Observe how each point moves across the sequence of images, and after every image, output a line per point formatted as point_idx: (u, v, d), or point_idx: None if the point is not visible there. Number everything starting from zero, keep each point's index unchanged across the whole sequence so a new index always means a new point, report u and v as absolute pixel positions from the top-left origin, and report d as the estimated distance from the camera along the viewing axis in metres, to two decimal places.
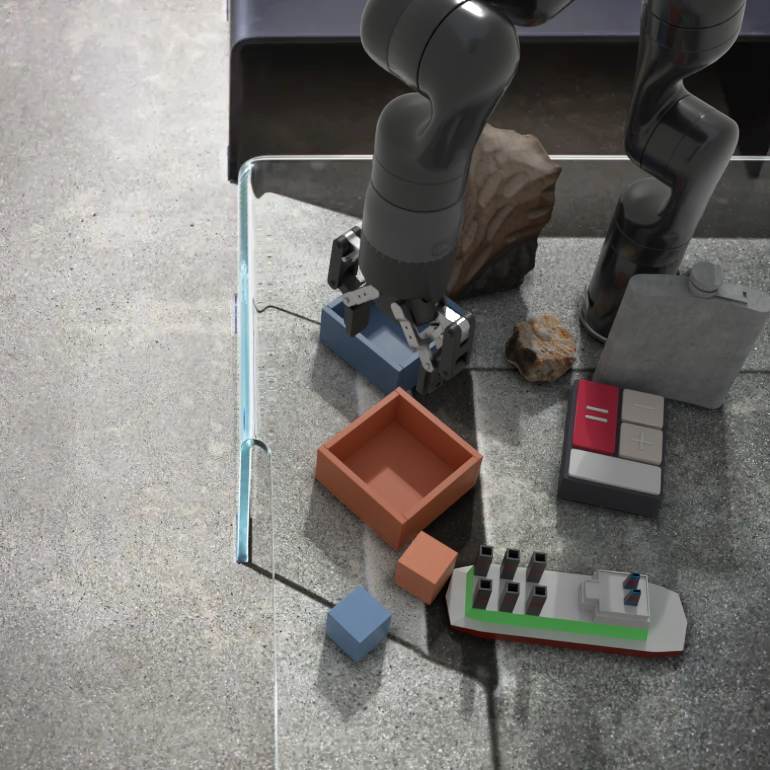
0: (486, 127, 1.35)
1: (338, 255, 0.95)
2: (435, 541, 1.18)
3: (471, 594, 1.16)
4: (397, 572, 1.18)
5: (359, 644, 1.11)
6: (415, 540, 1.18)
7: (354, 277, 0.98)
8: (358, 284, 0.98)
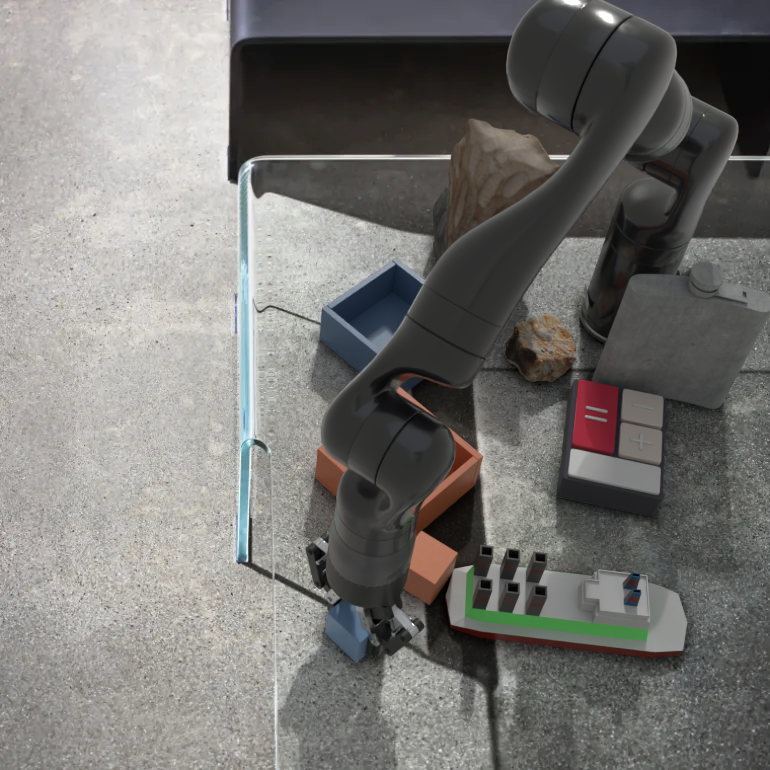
0: (486, 127, 1.35)
1: (312, 559, 1.10)
2: (435, 541, 1.18)
3: (471, 594, 1.16)
4: None
5: (359, 644, 1.11)
6: (415, 540, 1.18)
7: None
8: None
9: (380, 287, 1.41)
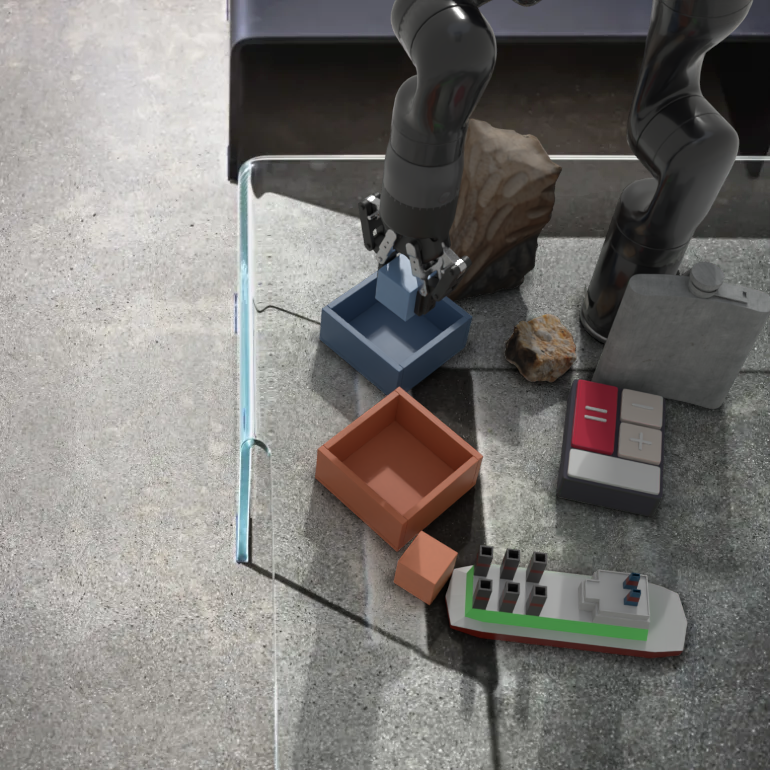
0: (486, 127, 1.35)
1: (364, 216, 1.19)
2: (435, 541, 1.18)
3: (471, 594, 1.16)
4: (397, 572, 1.18)
5: (409, 294, 1.19)
6: (415, 540, 1.18)
7: None
8: None
9: None
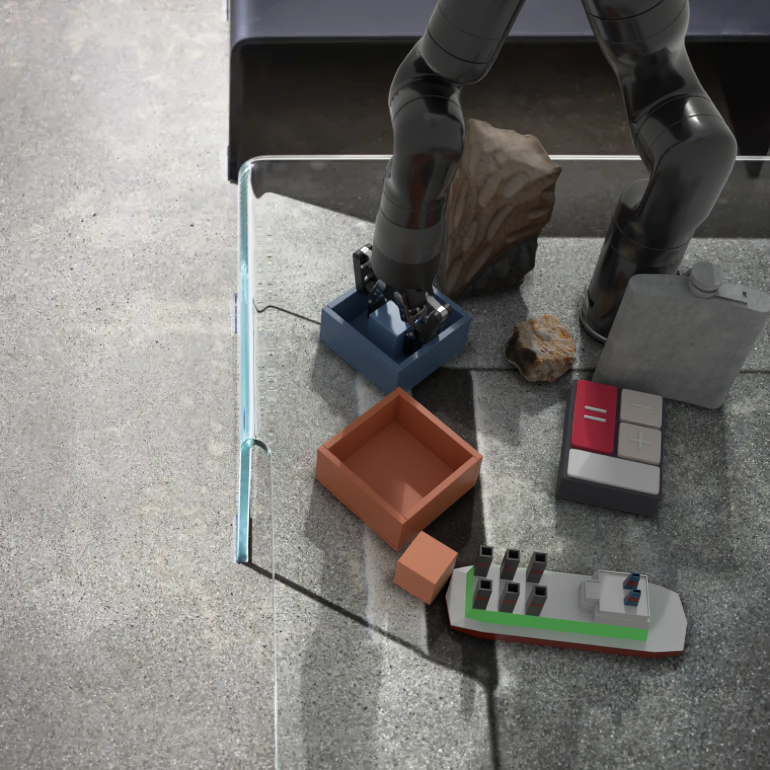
0: (486, 127, 1.35)
1: (357, 264, 1.33)
2: (435, 541, 1.18)
3: (471, 594, 1.16)
4: (397, 572, 1.18)
5: (396, 337, 1.34)
6: (415, 540, 1.18)
7: (375, 285, 1.36)
8: None
9: None
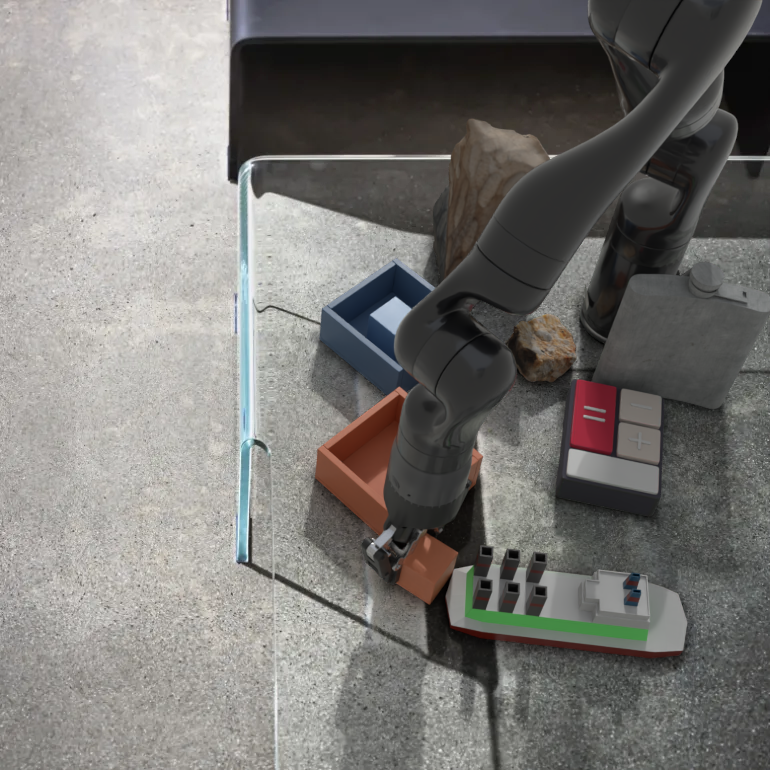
0: (486, 127, 1.35)
1: None
2: (435, 540, 1.18)
3: (471, 594, 1.16)
4: None
5: None
6: None
7: None
8: None
9: (380, 287, 1.41)
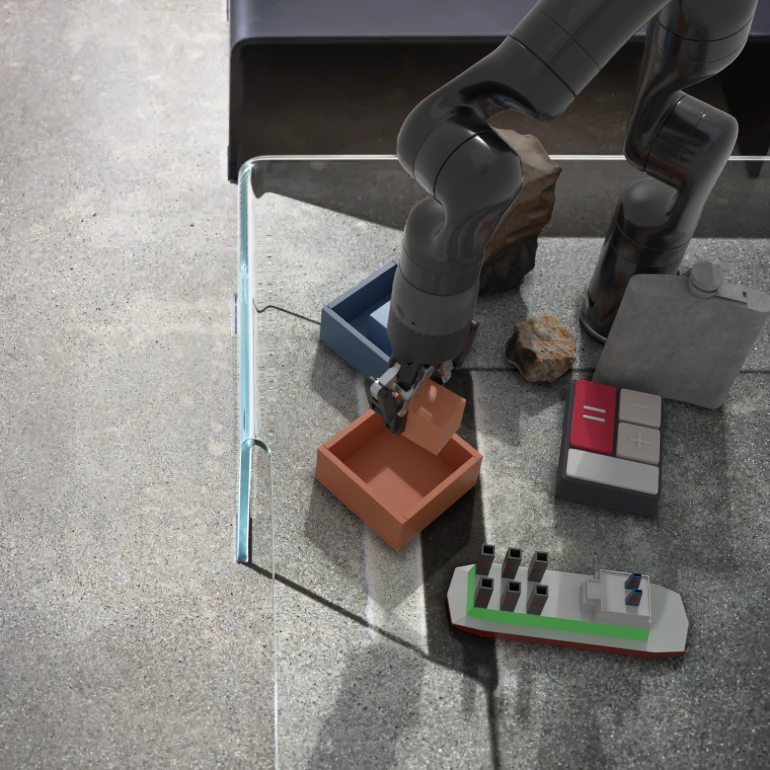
0: None
1: None
2: (442, 388, 1.14)
3: (472, 593, 1.16)
4: None
5: None
6: None
7: None
8: None
9: (380, 287, 1.41)
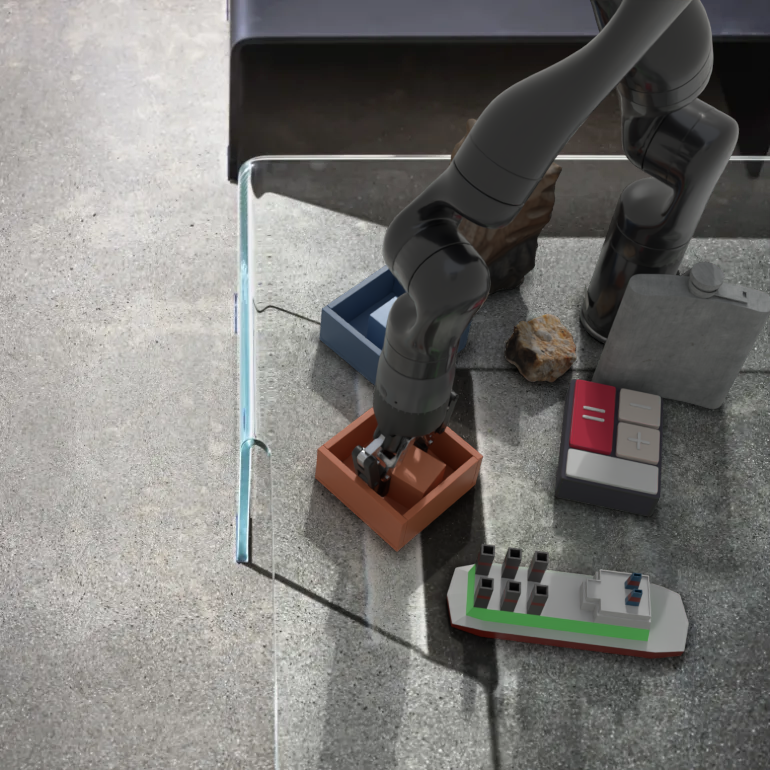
0: None
1: None
2: (424, 453, 1.24)
3: (472, 593, 1.16)
4: None
5: None
6: None
7: None
8: None
9: (380, 287, 1.41)
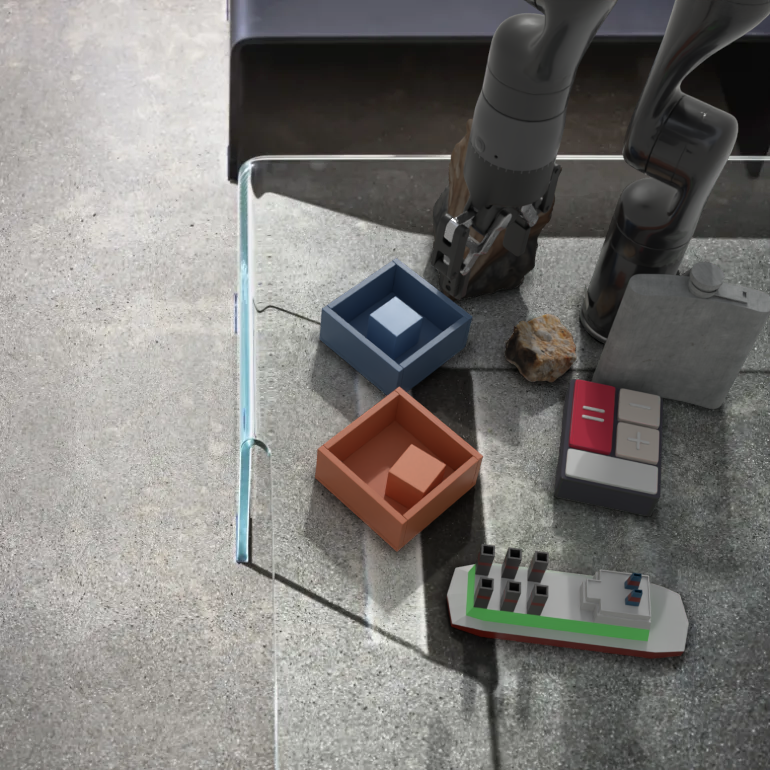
0: None
1: None
2: (424, 453, 1.24)
3: (472, 593, 1.16)
4: (388, 483, 1.24)
5: (396, 337, 1.34)
6: (405, 452, 1.24)
7: (536, 206, 1.08)
8: None
9: (380, 287, 1.41)
